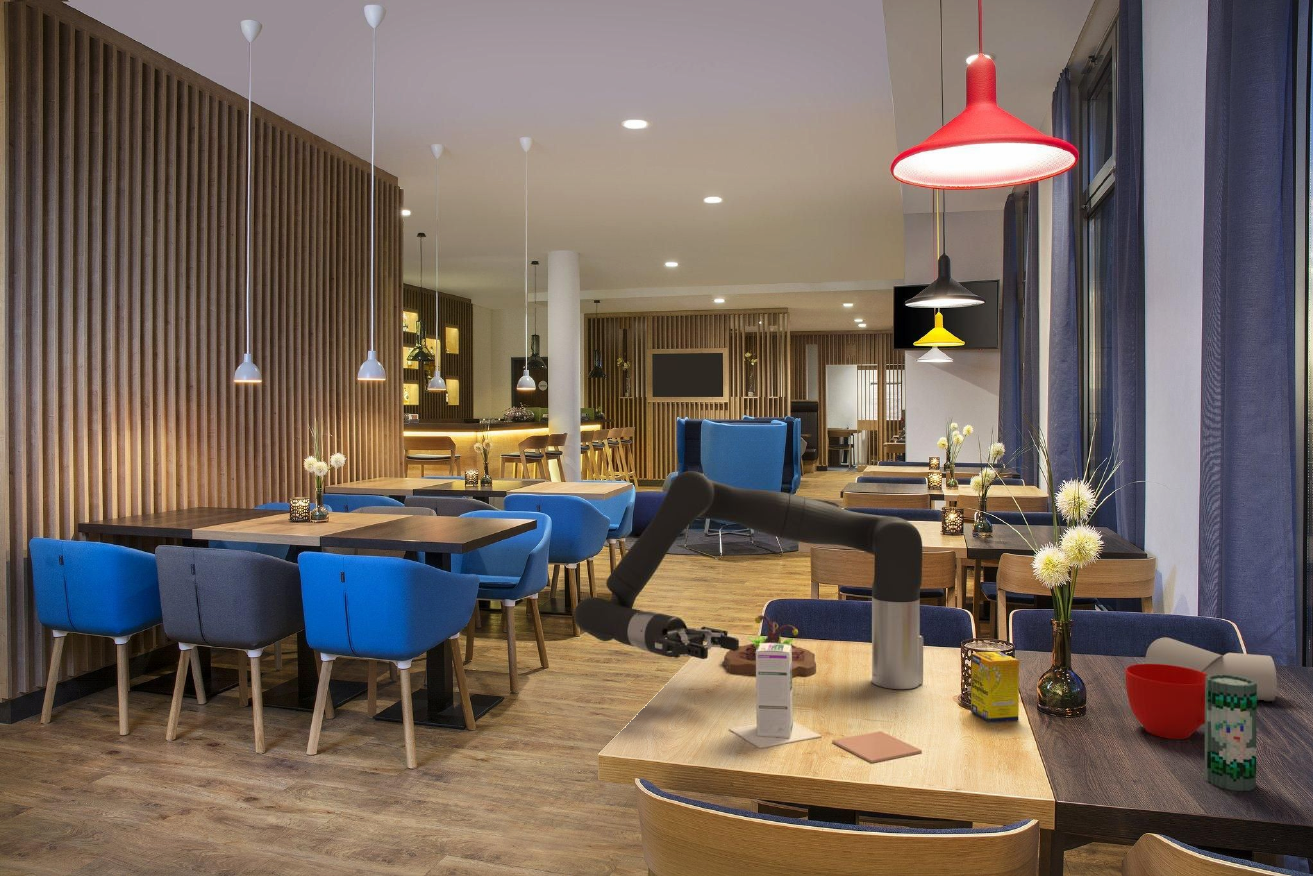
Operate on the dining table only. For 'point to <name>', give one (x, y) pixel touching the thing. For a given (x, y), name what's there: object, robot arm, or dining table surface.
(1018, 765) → the dining table surface
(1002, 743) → the dining table surface
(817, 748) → the dining table surface
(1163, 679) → the ceramic cup
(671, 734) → the dining table surface
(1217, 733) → the can
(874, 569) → the robot arm
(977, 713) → the supplement box
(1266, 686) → the elbow connector
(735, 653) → the plant
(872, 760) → the coaster
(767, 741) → the white square plate
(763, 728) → the syrup box
